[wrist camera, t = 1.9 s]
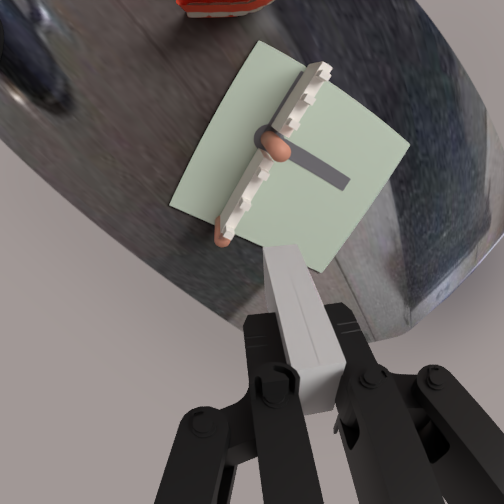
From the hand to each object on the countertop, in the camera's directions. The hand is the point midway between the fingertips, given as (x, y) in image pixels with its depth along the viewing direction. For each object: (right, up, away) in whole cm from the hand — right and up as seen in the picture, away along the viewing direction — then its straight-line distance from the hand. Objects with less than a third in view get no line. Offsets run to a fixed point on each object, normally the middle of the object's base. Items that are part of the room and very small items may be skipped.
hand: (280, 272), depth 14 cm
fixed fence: (+3, +18, +19) cm, 27 cm away
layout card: (+4, +11, +23) cm, 26 cm away
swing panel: (-3, +8, +24) cm, 25 cm away
